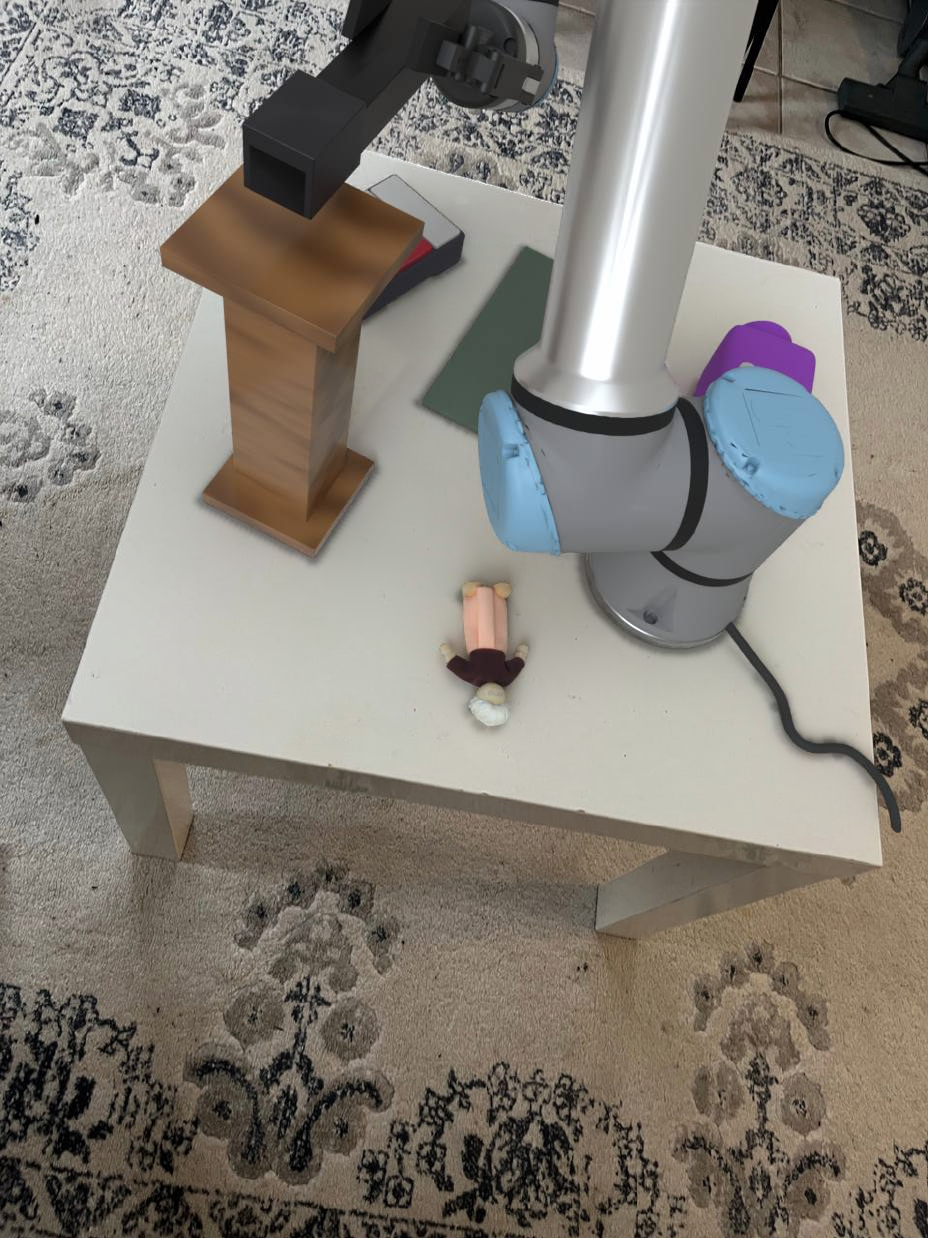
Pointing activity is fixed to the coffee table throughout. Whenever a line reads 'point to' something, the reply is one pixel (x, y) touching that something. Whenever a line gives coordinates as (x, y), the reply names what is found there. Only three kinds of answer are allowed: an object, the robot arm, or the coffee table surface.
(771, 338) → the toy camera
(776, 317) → the coffee table surface
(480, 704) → the grandmother figurine
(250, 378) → the stand
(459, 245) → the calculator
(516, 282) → the mat
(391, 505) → the coffee table surface
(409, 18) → the black square bar
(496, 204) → the coffee table surface
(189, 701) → the coffee table surface
